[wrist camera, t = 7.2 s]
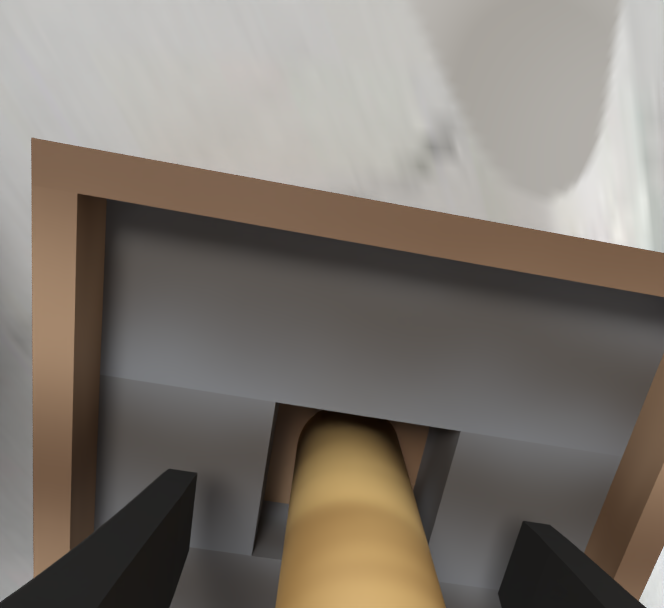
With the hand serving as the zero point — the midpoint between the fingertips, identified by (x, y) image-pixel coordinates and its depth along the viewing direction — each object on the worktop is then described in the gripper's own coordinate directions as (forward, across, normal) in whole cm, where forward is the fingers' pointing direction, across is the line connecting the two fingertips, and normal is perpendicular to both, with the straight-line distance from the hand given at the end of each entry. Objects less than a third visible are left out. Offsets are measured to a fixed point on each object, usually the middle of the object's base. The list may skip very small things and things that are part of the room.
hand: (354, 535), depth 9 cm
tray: (+4, 0, 0) cm, 4 cm away
